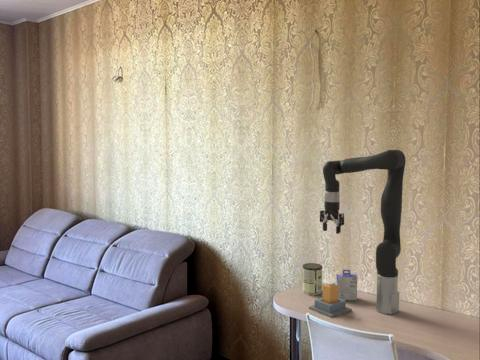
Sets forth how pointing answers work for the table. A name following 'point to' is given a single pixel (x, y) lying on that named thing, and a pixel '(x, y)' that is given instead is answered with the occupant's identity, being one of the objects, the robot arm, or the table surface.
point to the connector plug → (330, 292)
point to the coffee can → (312, 278)
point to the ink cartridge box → (347, 286)
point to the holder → (330, 307)
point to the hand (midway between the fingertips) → (331, 232)
